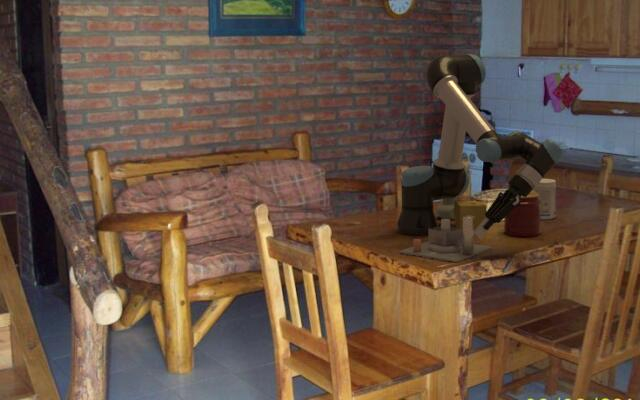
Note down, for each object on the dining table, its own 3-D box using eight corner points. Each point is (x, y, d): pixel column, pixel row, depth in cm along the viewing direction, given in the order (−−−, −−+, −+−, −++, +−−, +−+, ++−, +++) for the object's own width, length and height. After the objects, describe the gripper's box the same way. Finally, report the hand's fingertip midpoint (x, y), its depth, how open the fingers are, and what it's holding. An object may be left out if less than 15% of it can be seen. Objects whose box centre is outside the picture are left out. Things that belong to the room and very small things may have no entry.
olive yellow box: (481, 225, 332) (481, 199, 331) (487, 231, 322) (487, 204, 320) (453, 226, 332) (453, 200, 330) (458, 232, 322) (459, 205, 320)
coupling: (428, 247, 294) (428, 212, 292) (445, 243, 299) (445, 208, 297) (464, 255, 282) (464, 219, 280) (480, 251, 287) (481, 215, 285)
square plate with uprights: (399, 253, 292) (399, 221, 290) (435, 240, 309) (435, 210, 307) (456, 263, 278) (457, 229, 276) (491, 249, 295) (491, 217, 293)
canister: (527, 227, 326) (528, 180, 323) (548, 234, 314) (549, 186, 311) (496, 231, 322) (497, 183, 318) (516, 238, 310) (517, 189, 307)
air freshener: (453, 214, 352) (453, 190, 351) (467, 218, 346) (467, 193, 344) (432, 218, 347) (432, 193, 345) (446, 221, 340) (446, 196, 338)
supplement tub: (540, 214, 350) (541, 177, 348) (560, 217, 343) (561, 180, 340) (525, 217, 344) (525, 180, 342) (545, 221, 337) (546, 183, 334)
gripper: (541, 191, 281) (492, 247, 280) (523, 185, 293) (476, 238, 293) (525, 176, 279) (476, 232, 279) (508, 170, 292) (461, 224, 291)
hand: (476, 235), depth 286 cm, fingers closed
